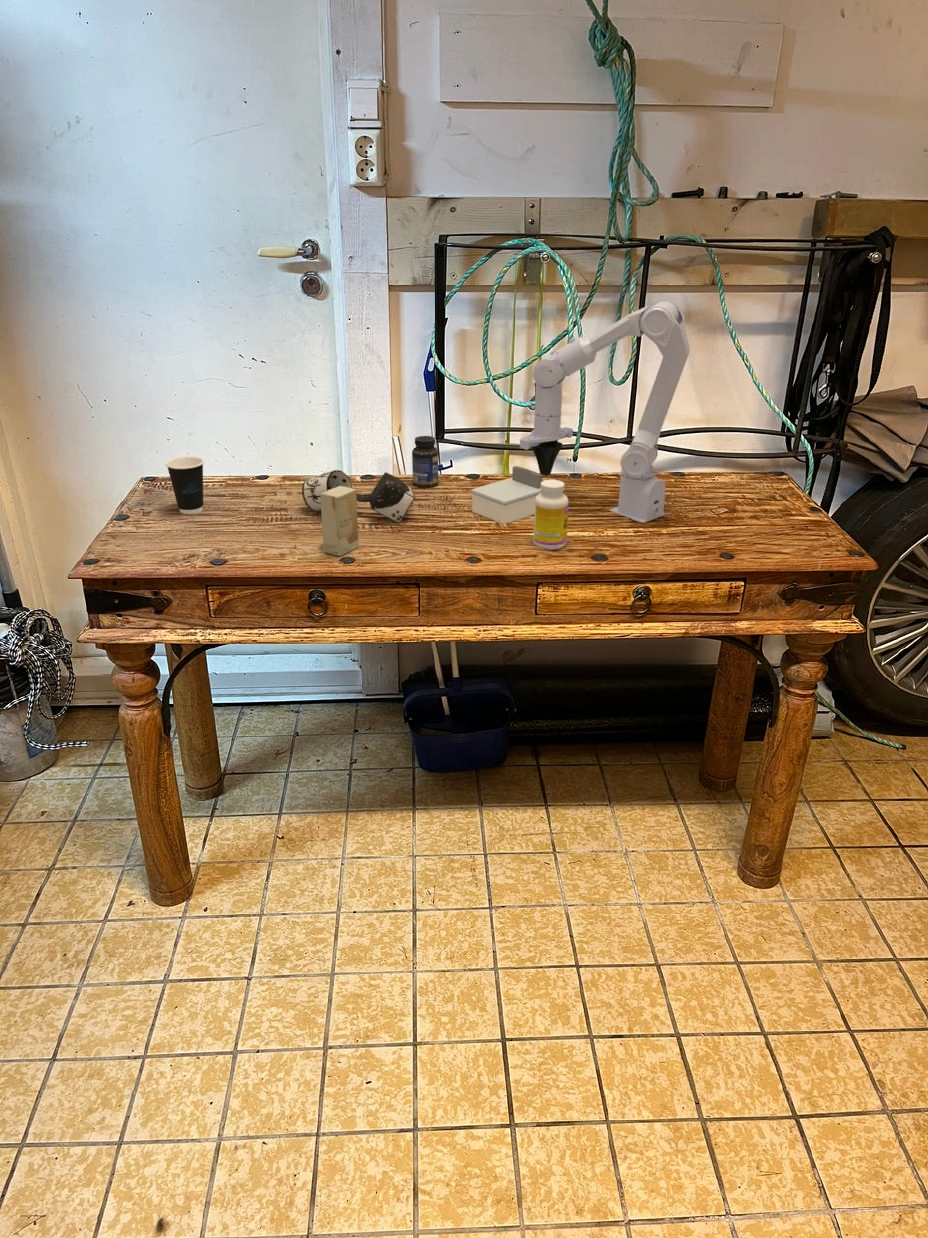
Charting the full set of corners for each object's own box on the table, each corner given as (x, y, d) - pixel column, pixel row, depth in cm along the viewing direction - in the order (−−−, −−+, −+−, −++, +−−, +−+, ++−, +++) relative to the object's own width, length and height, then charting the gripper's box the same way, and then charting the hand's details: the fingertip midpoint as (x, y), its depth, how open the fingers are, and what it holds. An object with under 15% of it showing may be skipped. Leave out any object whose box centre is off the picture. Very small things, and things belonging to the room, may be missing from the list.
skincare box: (340, 557, 184) (336, 497, 178) (322, 552, 186) (318, 493, 180) (360, 546, 189) (357, 488, 183) (343, 542, 191) (339, 484, 185)
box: (511, 501, 213) (512, 481, 210) (543, 513, 206) (544, 492, 204) (472, 513, 205) (472, 493, 203) (503, 526, 199) (504, 505, 197)
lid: (512, 479, 211) (512, 464, 209) (545, 491, 204) (546, 475, 202) (470, 492, 203) (471, 476, 202) (504, 504, 196) (504, 488, 195)
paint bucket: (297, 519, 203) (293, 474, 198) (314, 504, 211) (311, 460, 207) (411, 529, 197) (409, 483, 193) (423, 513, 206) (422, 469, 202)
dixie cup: (189, 501, 212) (183, 454, 207) (217, 507, 208) (211, 459, 203) (164, 513, 205) (157, 464, 200) (193, 519, 202) (186, 469, 197)
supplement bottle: (567, 551, 187) (571, 489, 181) (534, 550, 187) (536, 488, 181) (564, 538, 193) (568, 478, 187) (532, 538, 193) (534, 477, 187)
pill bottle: (437, 488, 220) (437, 442, 215) (411, 488, 220) (410, 442, 215) (439, 479, 226) (438, 434, 221) (413, 479, 226) (412, 434, 221)
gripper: (557, 404, 210) (554, 463, 216) (510, 415, 202) (509, 476, 208) (581, 410, 206) (577, 470, 212) (534, 422, 197) (531, 484, 203)
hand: (545, 474), depth 209 cm, fingers closed
